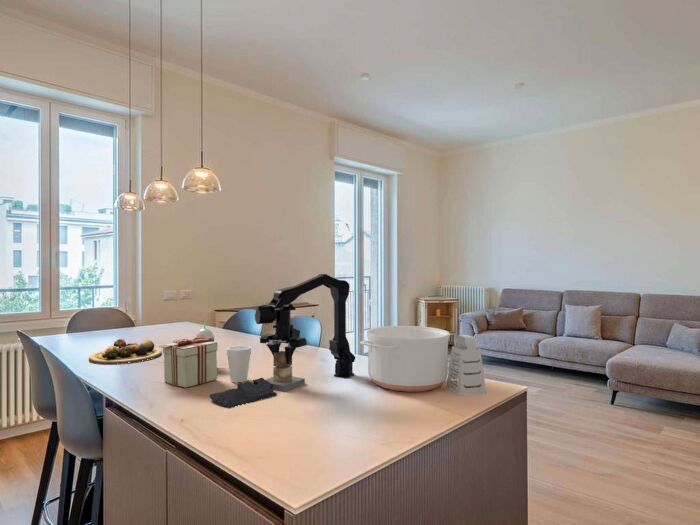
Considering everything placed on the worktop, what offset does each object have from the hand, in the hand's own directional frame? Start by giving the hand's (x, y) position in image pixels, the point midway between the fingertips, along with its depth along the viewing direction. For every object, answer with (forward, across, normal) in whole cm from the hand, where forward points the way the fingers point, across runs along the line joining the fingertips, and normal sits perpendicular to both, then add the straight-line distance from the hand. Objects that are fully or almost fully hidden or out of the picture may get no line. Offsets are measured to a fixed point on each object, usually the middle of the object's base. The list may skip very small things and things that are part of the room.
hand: (282, 363), depth 166 cm
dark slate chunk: (+9, +3, +18) cm, 21 cm away
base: (+8, 0, 0) cm, 9 cm away
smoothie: (+9, +48, -4) cm, 49 cm away
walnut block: (+1, 0, 0) cm, 1 cm away
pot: (+9, -40, -27) cm, 49 cm away
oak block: (+6, 0, 0) cm, 7 cm away
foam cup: (+9, +19, +4) cm, 21 cm away
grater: (+9, -62, -30) cm, 69 cm away
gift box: (+9, +36, +15) cm, 40 cm away
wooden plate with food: (+9, +98, +2) cm, 98 cm away
